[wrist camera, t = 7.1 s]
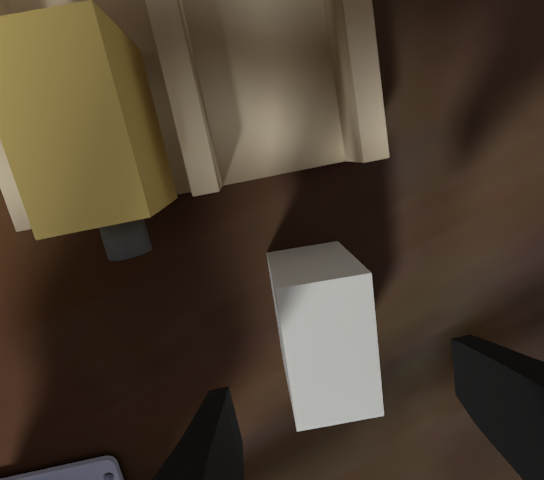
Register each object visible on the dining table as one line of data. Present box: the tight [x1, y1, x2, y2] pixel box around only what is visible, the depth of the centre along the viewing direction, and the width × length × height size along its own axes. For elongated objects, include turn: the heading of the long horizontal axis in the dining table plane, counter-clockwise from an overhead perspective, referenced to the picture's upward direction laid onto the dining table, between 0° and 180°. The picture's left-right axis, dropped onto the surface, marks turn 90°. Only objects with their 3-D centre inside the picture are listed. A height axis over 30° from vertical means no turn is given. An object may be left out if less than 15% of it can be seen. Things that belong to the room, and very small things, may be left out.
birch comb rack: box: [0, 0, 390, 232], centre depth 14 cm, size 11×15×3 cm
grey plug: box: [266, 241, 384, 432], centre depth 17 cm, size 8×4×5 cm, turn 8°
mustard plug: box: [0, 0, 178, 261], centre depth 13 cm, size 8×4×5 cm, turn 11°
